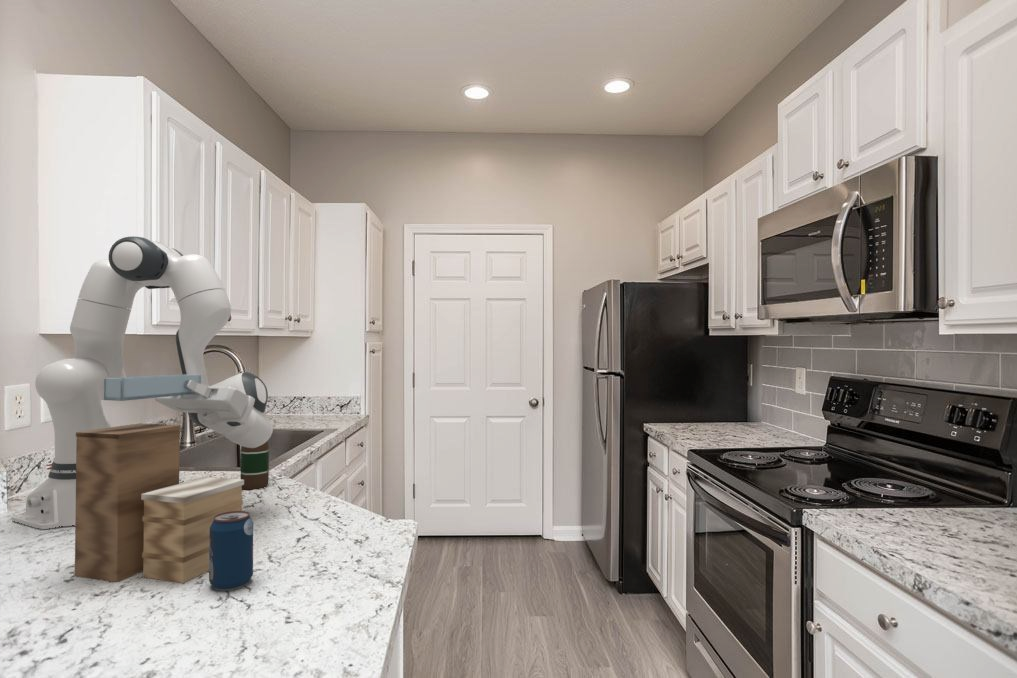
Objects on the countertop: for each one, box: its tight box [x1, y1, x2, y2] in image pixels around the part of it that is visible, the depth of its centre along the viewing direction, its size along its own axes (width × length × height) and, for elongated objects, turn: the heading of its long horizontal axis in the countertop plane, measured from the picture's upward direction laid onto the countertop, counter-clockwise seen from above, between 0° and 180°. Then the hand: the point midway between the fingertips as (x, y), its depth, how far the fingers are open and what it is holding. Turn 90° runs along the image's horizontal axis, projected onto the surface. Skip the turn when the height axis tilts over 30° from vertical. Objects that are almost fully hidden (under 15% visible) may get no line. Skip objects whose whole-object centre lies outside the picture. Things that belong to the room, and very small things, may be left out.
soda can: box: [208, 510, 254, 592], centre depth 100 cm, size 7×7×12 cm
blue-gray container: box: [103, 374, 201, 402], centre depth 114 cm, size 4×18×4 cm, turn 164°
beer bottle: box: [240, 440, 270, 491], centre depth 171 cm, size 8×8×24 cm
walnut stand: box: [74, 422, 182, 583], centre depth 109 cm, size 10×13×26 cm
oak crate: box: [141, 476, 244, 584], centre depth 109 cm, size 10×15×15 cm, turn 164°
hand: (175, 382), depth 119 cm, fingers closed on blue-gray container, 4 cm apart
